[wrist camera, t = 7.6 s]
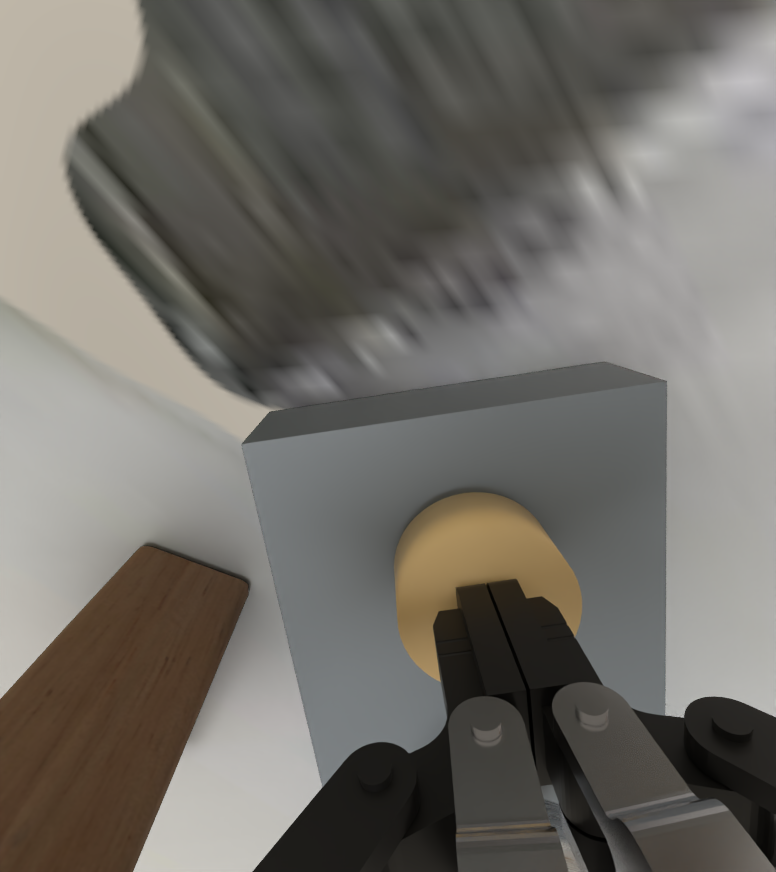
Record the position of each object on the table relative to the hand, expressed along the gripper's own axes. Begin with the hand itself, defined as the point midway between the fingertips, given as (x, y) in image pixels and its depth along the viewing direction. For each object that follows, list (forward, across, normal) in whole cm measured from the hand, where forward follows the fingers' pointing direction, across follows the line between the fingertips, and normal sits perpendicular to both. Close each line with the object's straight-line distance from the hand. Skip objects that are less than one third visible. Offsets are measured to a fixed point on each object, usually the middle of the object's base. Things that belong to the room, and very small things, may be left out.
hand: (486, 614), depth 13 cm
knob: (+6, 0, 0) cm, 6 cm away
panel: (+7, 0, +9) cm, 11 cm away
